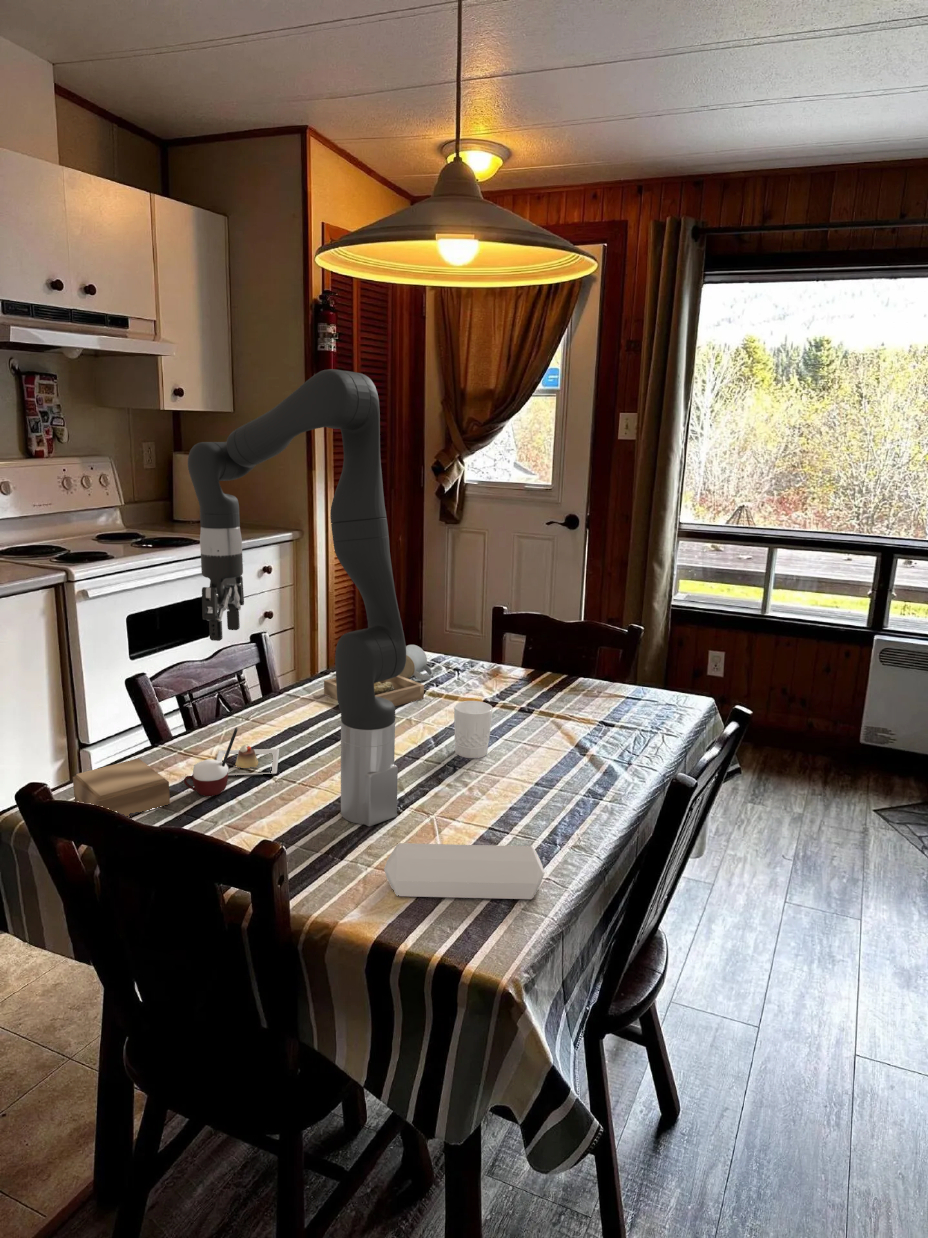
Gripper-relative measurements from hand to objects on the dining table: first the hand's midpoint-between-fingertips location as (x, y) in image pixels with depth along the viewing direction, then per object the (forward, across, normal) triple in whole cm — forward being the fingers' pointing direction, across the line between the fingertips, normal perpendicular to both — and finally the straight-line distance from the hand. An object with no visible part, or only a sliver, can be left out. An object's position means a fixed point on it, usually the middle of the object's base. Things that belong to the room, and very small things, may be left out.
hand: (225, 634), depth 161 cm
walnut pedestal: (+26, -21, +12) cm, 35 cm away
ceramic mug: (+26, +62, -26) cm, 72 cm away
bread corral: (+26, +44, -19) cm, 54 cm away
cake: (+26, +44, -19) cm, 55 cm away
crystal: (+28, -37, -51) cm, 69 cm away
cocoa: (+26, -14, -2) cm, 30 cm away
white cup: (+27, +14, -47) cm, 55 cm away
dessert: (+27, -1, -4) cm, 27 cm away
